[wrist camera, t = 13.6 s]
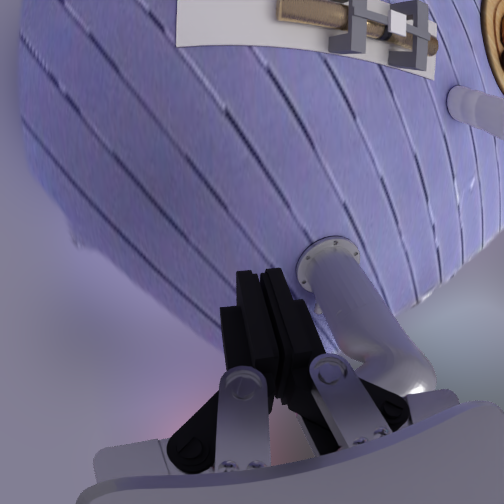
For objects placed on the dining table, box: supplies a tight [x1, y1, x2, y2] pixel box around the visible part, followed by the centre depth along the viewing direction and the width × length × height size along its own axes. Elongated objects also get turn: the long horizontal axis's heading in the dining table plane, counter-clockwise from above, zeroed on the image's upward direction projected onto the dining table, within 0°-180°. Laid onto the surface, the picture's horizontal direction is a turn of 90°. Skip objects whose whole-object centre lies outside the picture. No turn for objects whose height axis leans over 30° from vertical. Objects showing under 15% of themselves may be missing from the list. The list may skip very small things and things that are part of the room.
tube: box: [276, 0, 438, 57], centre depth 28 cm, size 24×4×4 cm, turn 88°
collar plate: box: [176, 0, 437, 80], centre depth 26 cm, size 11×40×9 cm, turn 88°
